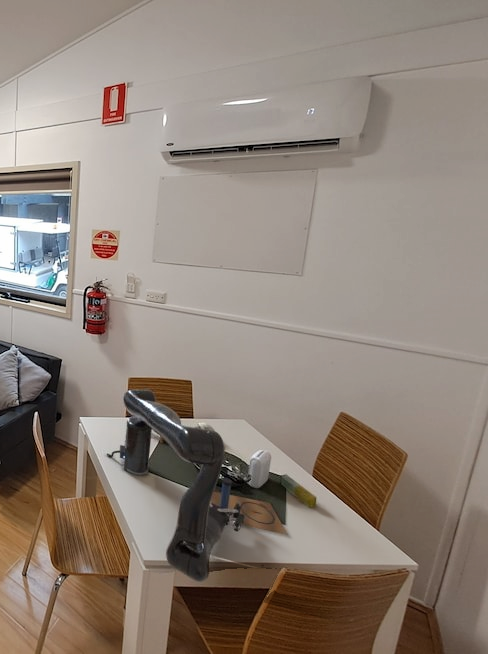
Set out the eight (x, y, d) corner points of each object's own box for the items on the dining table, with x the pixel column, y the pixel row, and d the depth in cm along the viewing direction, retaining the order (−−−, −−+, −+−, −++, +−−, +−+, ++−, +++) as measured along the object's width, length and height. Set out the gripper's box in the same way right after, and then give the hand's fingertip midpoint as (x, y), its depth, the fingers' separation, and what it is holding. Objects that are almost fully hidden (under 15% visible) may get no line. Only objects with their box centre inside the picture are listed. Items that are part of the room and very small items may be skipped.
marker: (219, 513, 126) (224, 482, 124) (217, 507, 129) (221, 476, 127) (228, 515, 126) (233, 483, 124) (226, 509, 128) (230, 478, 126)
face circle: (246, 519, 124) (246, 519, 124) (236, 499, 133) (236, 499, 133) (279, 527, 121) (279, 526, 121) (267, 505, 130) (267, 505, 130)
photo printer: (256, 473, 147) (261, 445, 144) (269, 479, 143) (274, 450, 141) (244, 483, 141) (249, 454, 139) (257, 490, 138) (262, 460, 135)
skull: (192, 444, 163) (188, 420, 168) (185, 448, 171) (182, 424, 177) (222, 447, 160) (217, 422, 166) (214, 450, 169) (209, 427, 174)
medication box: (279, 484, 141) (279, 474, 140) (286, 483, 141) (286, 473, 140) (309, 508, 129) (310, 498, 128) (316, 507, 129) (317, 497, 129)
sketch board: (216, 520, 124) (216, 519, 124) (204, 487, 139) (204, 486, 139) (287, 536, 118) (288, 534, 118) (267, 499, 133) (267, 498, 133)
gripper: (235, 529, 107) (249, 500, 118) (183, 502, 118) (200, 477, 128) (232, 551, 109) (246, 520, 120) (180, 522, 119) (198, 496, 130)
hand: (222, 498), depth 124 cm, fingers open, 8 cm apart
